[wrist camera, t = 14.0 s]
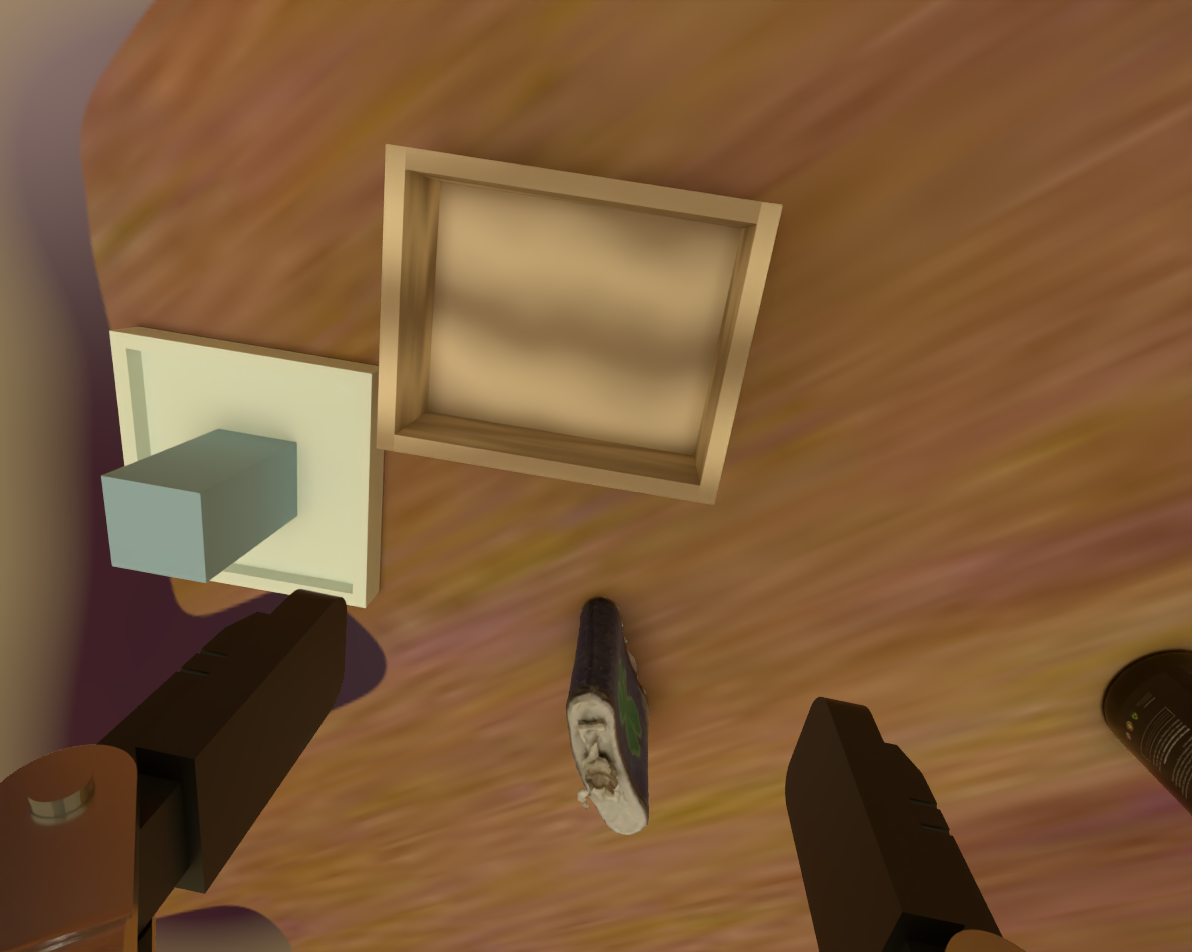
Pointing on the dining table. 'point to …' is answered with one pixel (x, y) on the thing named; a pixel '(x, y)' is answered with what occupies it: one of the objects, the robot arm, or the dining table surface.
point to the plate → (276, 410)
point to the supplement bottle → (1157, 718)
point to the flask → (609, 720)
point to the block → (200, 503)
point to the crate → (565, 321)
